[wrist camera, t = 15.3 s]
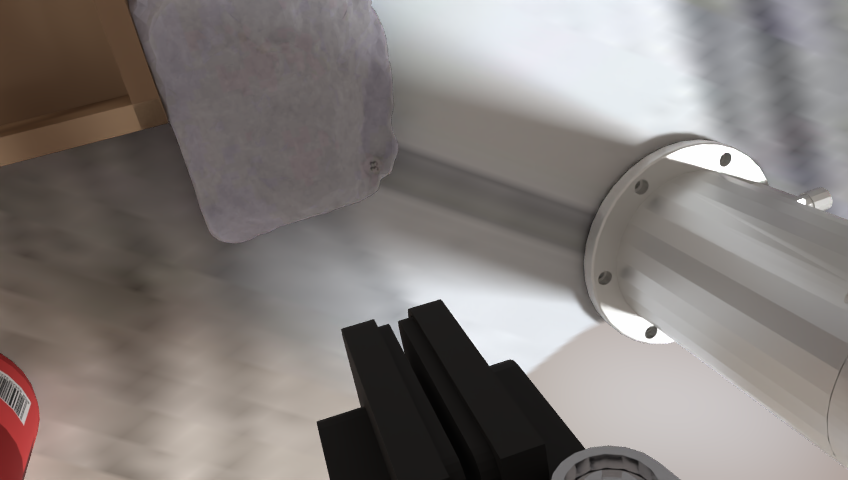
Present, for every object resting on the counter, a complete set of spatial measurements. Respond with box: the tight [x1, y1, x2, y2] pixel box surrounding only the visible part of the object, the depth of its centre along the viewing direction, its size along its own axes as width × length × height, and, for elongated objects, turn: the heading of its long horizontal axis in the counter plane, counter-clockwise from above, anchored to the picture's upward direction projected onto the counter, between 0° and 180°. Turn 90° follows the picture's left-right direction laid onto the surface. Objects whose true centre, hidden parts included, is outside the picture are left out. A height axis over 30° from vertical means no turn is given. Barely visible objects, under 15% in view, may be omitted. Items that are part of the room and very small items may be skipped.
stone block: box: [127, 0, 398, 243], centre depth 30 cm, size 12×5×10 cm
